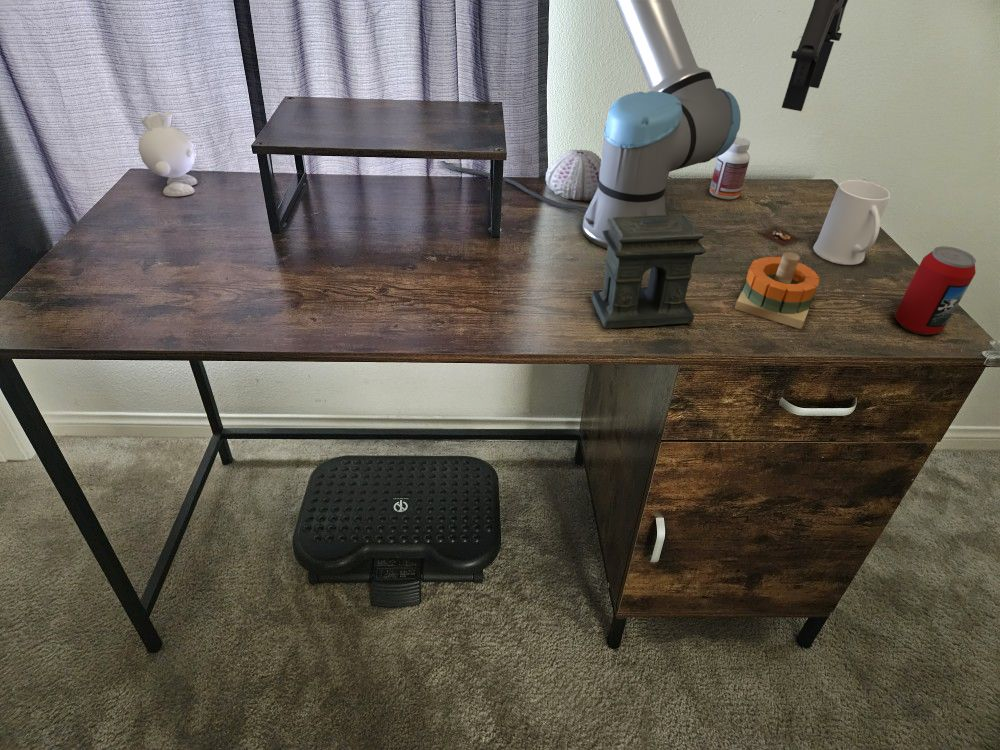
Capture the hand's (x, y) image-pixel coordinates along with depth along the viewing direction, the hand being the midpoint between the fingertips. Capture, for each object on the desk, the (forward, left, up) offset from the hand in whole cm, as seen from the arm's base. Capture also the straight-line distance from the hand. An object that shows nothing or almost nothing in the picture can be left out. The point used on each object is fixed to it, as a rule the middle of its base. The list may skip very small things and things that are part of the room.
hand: (800, 97), depth 97 cm
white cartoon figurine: (-102, -37, -27) cm, 112 cm away
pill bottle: (-11, +23, -27) cm, 37 cm away
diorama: (+3, +10, -27) cm, 29 cm away
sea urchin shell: (-37, +7, -27) cm, 46 cm away
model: (-10, -28, -27) cm, 40 cm away
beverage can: (+27, -8, -27) cm, 39 cm away
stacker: (+7, -14, -27) cm, 31 cm away
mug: (+14, +8, -27) cm, 31 cm away
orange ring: (+7, -14, -23) cm, 28 cm away
